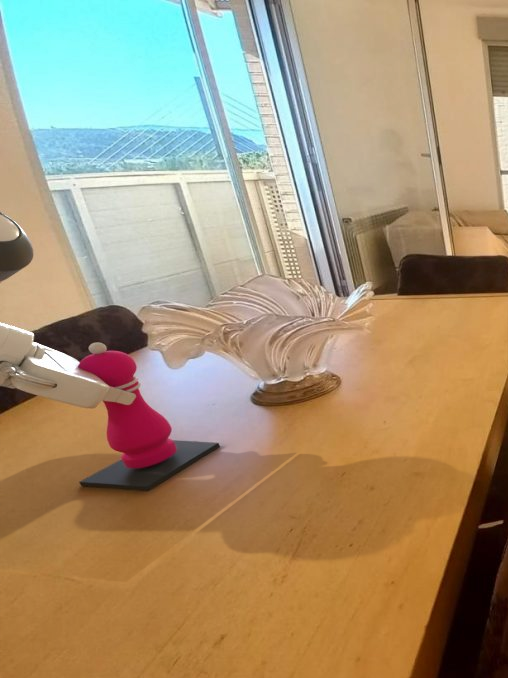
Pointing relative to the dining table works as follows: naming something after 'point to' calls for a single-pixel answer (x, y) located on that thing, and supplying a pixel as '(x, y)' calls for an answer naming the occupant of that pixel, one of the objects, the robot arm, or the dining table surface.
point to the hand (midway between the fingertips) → (126, 394)
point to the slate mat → (150, 469)
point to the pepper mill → (129, 411)
